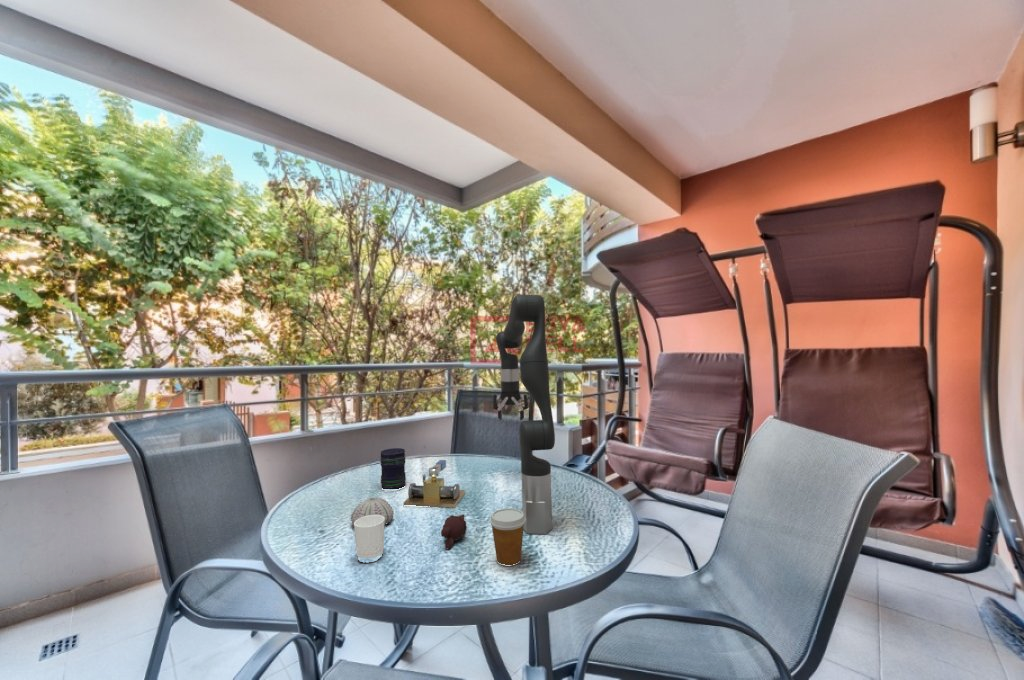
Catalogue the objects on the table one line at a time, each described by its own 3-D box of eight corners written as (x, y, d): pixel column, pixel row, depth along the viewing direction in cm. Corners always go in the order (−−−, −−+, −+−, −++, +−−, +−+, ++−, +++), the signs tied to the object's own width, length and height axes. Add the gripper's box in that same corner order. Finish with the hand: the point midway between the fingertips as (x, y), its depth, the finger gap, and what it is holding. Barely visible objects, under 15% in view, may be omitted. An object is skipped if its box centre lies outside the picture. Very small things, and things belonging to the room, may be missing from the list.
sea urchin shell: (368, 513, 142) (368, 490, 142) (402, 517, 137) (401, 493, 138) (341, 529, 129) (341, 504, 129) (378, 534, 125) (377, 508, 125)
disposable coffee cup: (483, 561, 107) (482, 515, 108) (509, 547, 114) (508, 504, 114) (508, 574, 101) (507, 525, 101) (534, 559, 107) (532, 514, 108)
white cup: (375, 547, 116) (374, 512, 117) (391, 555, 111) (390, 519, 112) (349, 559, 110) (348, 522, 111) (364, 568, 105) (364, 529, 106)
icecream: (450, 506, 129) (429, 531, 115) (471, 502, 127) (452, 527, 113) (456, 527, 129) (436, 555, 115) (477, 523, 127) (459, 551, 113)
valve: (454, 508, 144) (453, 478, 144) (403, 506, 146) (402, 477, 147) (464, 493, 157) (464, 466, 158) (418, 492, 160) (417, 465, 160)
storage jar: (375, 490, 164) (375, 453, 164) (390, 482, 173) (389, 447, 173) (397, 492, 161) (396, 454, 161) (410, 484, 170) (409, 448, 170)
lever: (436, 477, 149) (436, 469, 149) (427, 477, 150) (427, 469, 150) (447, 467, 162) (447, 460, 162) (438, 466, 162) (438, 459, 162)
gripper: (491, 381, 164) (492, 421, 164) (525, 380, 161) (527, 421, 161) (495, 379, 171) (496, 418, 171) (528, 379, 169) (529, 418, 168)
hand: (511, 419), depth 166 cm, fingers open, 8 cm apart
